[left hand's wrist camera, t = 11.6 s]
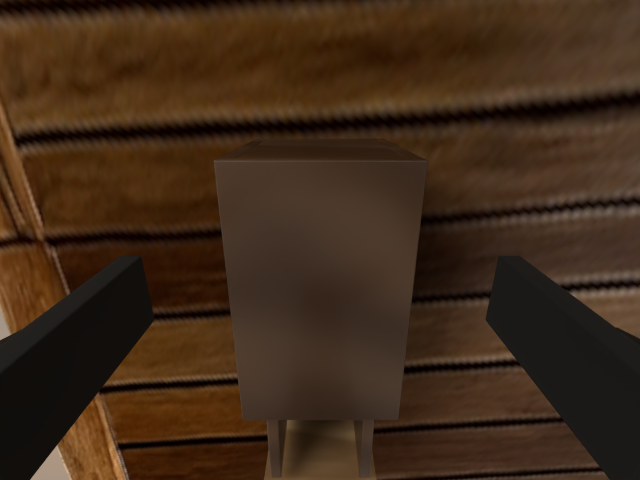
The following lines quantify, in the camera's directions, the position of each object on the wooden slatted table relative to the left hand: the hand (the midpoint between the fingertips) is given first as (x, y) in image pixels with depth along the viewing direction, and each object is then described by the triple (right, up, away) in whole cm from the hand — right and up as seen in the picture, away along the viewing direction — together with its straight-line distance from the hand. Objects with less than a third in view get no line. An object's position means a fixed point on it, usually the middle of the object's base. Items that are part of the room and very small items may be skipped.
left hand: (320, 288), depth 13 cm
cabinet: (0, +2, +17) cm, 17 cm away
